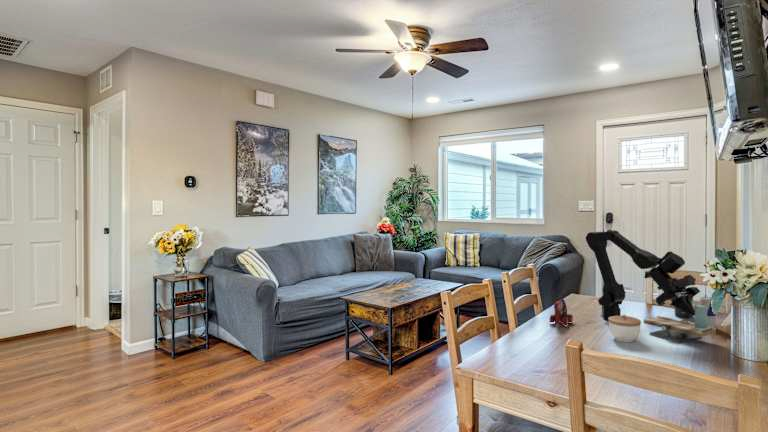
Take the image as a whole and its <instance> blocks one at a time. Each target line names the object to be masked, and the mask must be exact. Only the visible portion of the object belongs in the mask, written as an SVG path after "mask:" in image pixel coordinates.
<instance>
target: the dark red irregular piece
mask: <svg viewBox="0 0 768 432" xmlns="http://www.w3.org/2000/svg"><path fill="white" fill-rule="evenodd" d="M553 305H554V306H553V307H554V314H551V315H550V316H549V323H550V322H554V321H555V324H559V323H561V322H562V323H561V324H562V325H563V324H564V325H567V324H568V323H569V322H572V321H574V318H573V314H569V313H568V309H567V308H568V307H567V303H566V301H565V299H564V298H561V299H559V300H558V301H556V302H554V304H553ZM572 323H573V322H572ZM568 325H569V324H568Z"/></svg>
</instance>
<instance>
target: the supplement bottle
mask: <svg viewBox="0 0 768 432" xmlns="http://www.w3.org/2000/svg"><path fill="white" fill-rule="evenodd" d="M683 291H684V290H683ZM691 303H692V305H693V306H694V297H692V298H691ZM674 316H675V317H677V318H681V319H693V318H694V316H692V315H690V314H688V313H686V312H684V311H683V310H680V309H678V308H676V307H674Z"/></svg>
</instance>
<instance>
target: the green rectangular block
mask: <svg viewBox="0 0 768 432" xmlns="http://www.w3.org/2000/svg"><path fill="white" fill-rule="evenodd" d="M694 310H695V316H694V323H695V326H693V327H691V329H693V330H698V331H705V330H709V329H710V328H711V327H709V326H707V307H706V306H701V305H699V304H696V305H694Z"/></svg>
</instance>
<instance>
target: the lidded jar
mask: <svg viewBox="0 0 768 432" xmlns="http://www.w3.org/2000/svg"><path fill="white" fill-rule="evenodd" d="M607 321H608V327H609V332H610V334H611V335H612V336H613V337H614V338H615V340H616V341H619V342H623V343H633V342H634V341H635V340H636V339H637V338H638V337H639V336H640V332H641V323H642V321H641V320H640V319H638V318H636V317H633V316H627V315H626V314H622V315H621V316H611V317H609V318H608V320H607Z"/></svg>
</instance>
